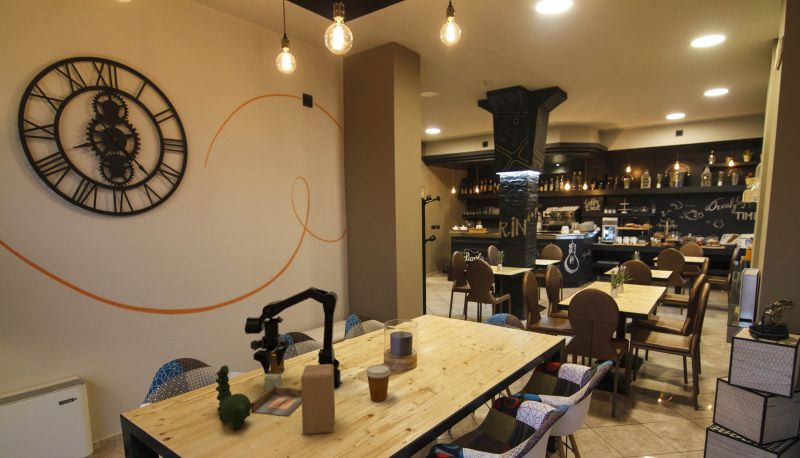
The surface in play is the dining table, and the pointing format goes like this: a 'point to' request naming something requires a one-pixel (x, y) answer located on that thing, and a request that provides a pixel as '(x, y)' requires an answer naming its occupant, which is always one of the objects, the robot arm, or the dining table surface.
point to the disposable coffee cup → (378, 382)
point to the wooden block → (318, 399)
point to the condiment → (276, 366)
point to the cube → (272, 381)
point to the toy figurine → (231, 402)
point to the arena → (278, 401)
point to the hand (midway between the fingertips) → (272, 369)
